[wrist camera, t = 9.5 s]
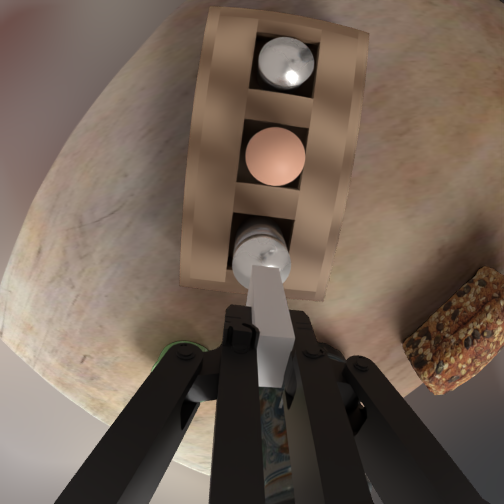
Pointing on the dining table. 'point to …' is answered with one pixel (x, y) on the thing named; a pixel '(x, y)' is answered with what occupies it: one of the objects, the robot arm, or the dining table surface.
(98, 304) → the dining table surface
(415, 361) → the bread
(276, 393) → the beer stein
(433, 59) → the dining table surface
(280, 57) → the plug
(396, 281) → the dining table surface
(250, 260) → the plug
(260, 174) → the plug terracotta
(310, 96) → the block
